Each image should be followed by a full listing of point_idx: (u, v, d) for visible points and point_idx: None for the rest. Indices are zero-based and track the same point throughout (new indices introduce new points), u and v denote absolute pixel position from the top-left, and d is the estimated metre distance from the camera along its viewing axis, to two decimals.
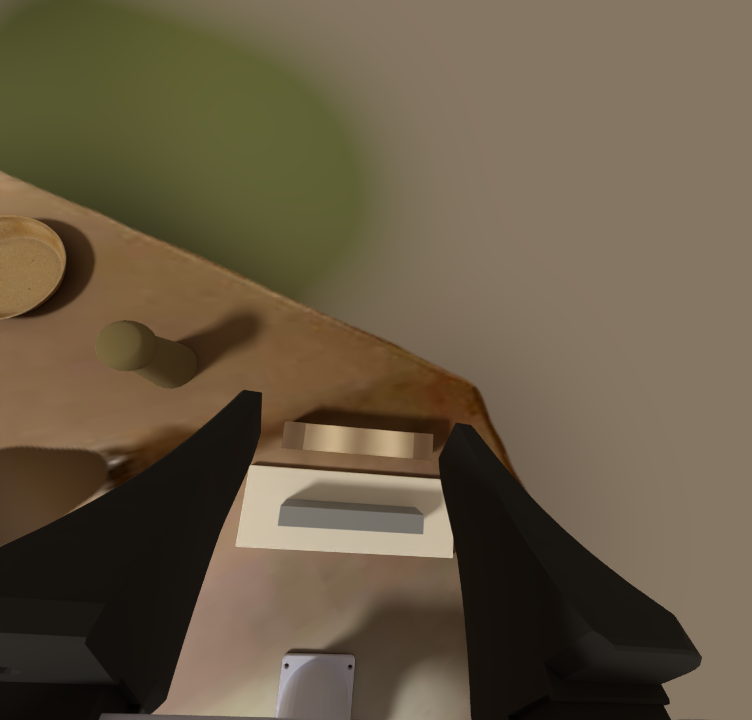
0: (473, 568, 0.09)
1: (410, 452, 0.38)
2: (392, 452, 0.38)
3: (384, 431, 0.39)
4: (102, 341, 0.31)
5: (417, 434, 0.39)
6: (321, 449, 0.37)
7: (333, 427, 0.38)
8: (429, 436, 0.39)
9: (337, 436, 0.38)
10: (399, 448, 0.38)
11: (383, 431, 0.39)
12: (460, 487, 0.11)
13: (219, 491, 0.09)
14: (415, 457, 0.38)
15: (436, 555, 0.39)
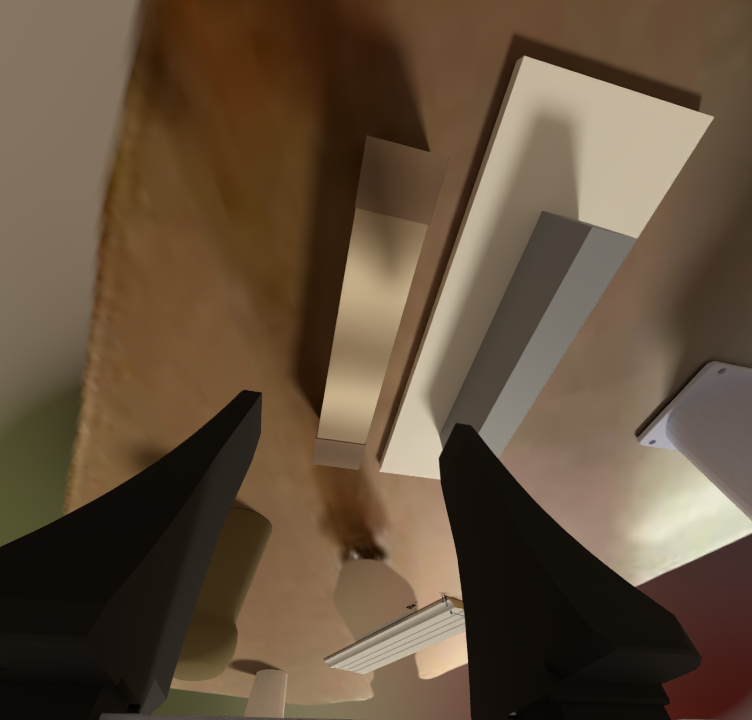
0: (473, 568, 0.09)
1: (410, 229, 0.13)
2: (399, 282, 0.14)
3: (344, 294, 0.15)
4: (194, 680, 0.23)
5: (361, 197, 0.12)
6: (369, 418, 0.19)
7: (327, 397, 0.18)
8: (372, 152, 0.12)
9: (348, 393, 0.18)
10: (392, 261, 0.14)
11: (344, 297, 0.15)
12: (460, 487, 0.11)
13: (219, 491, 0.09)
14: (427, 216, 0.13)
15: (676, 170, 0.15)
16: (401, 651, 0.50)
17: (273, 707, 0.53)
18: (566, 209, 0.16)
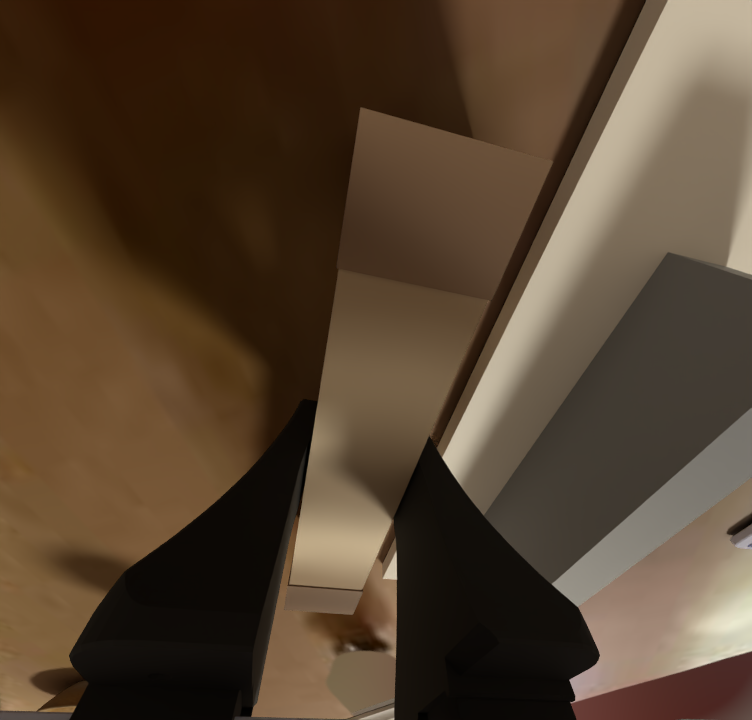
0: (405, 562, 0.09)
1: (451, 308, 0.06)
2: (424, 395, 0.08)
3: (321, 413, 0.08)
4: None
5: (350, 248, 0.06)
6: (368, 564, 0.12)
7: (301, 543, 0.11)
8: (374, 150, 0.05)
9: (333, 537, 0.11)
10: (413, 363, 0.07)
11: (321, 417, 0.08)
12: None
13: (295, 500, 0.09)
14: (489, 284, 0.06)
15: None
16: None
17: None
18: (710, 250, 0.09)
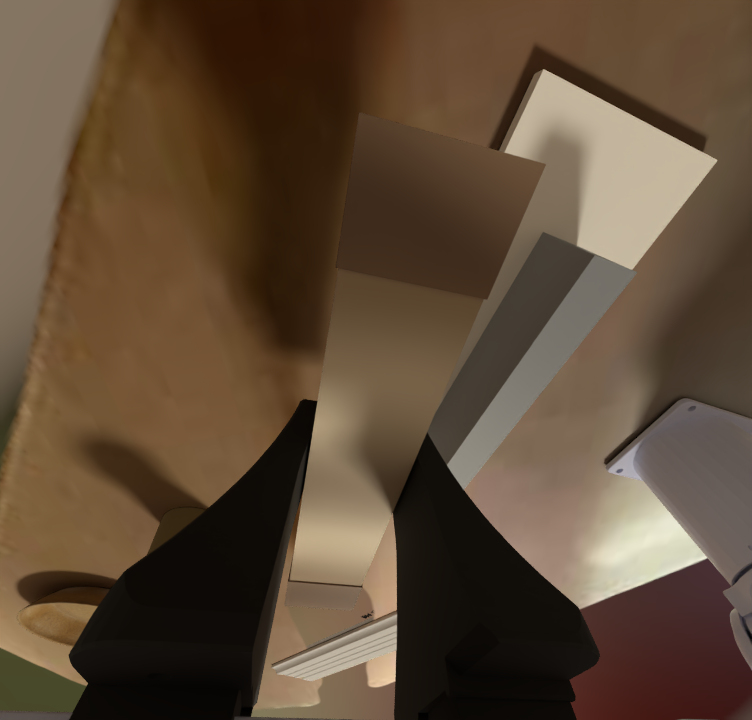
0: (406, 562, 0.09)
1: (448, 306, 0.07)
2: (422, 391, 0.08)
3: (321, 410, 0.08)
4: None
5: (349, 248, 0.06)
6: (367, 560, 0.12)
7: (301, 538, 0.11)
8: (372, 153, 0.05)
9: (333, 533, 0.11)
10: (410, 360, 0.07)
11: (321, 413, 0.08)
12: None
13: (295, 500, 0.09)
14: (485, 283, 0.06)
15: (676, 208, 0.15)
16: (351, 660, 0.49)
17: None
18: (566, 233, 0.15)
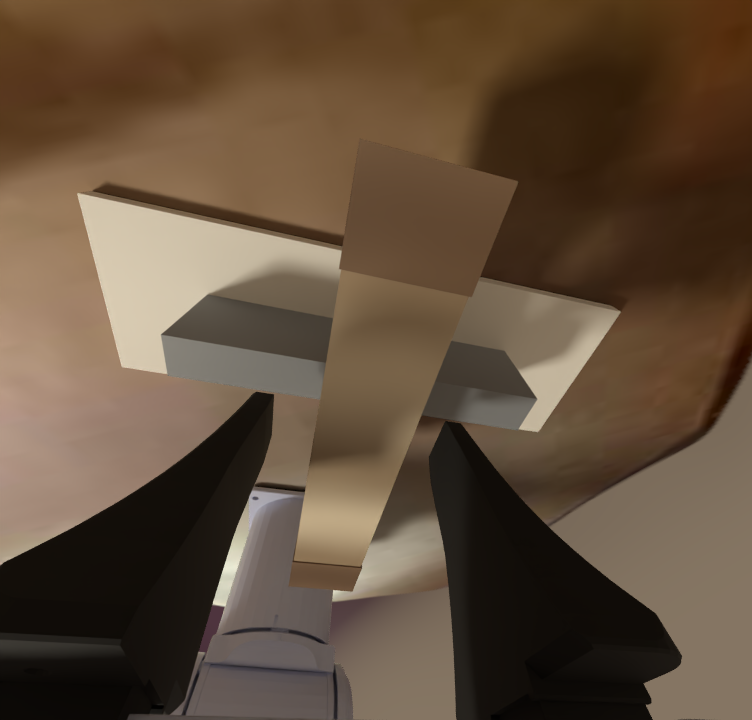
0: (460, 566, 0.09)
1: (437, 303, 0.07)
2: (415, 380, 0.09)
3: (325, 396, 0.09)
4: None
5: (351, 252, 0.07)
6: (367, 541, 0.13)
7: (305, 519, 0.12)
8: (371, 172, 0.06)
9: (335, 514, 0.12)
10: (405, 351, 0.08)
11: (325, 400, 0.09)
12: (449, 486, 0.11)
13: (235, 493, 0.09)
14: (469, 283, 0.07)
15: None
16: None
17: None
18: None
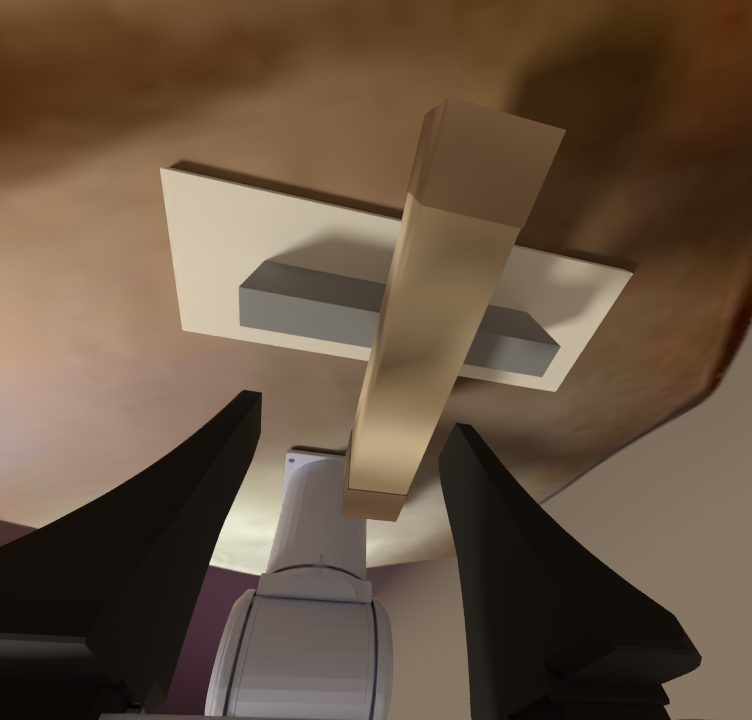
0: (473, 568, 0.09)
1: (495, 235, 0.09)
2: (471, 305, 0.11)
3: (396, 321, 0.11)
4: None
5: (432, 190, 0.09)
6: (414, 467, 0.15)
7: (364, 444, 0.14)
8: (455, 124, 0.08)
9: (390, 438, 0.14)
10: (465, 278, 0.10)
11: (395, 325, 0.11)
12: (460, 487, 0.11)
13: (219, 491, 0.09)
14: (522, 216, 0.09)
15: (530, 385, 0.23)
16: None
17: None
18: None
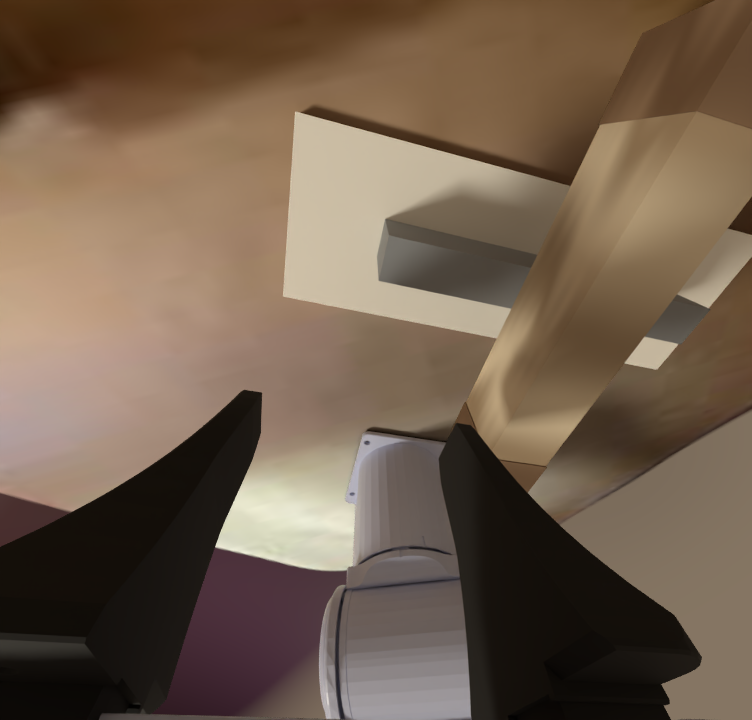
0: (473, 568, 0.09)
1: None
2: (702, 238, 0.10)
3: (613, 257, 0.10)
4: None
5: (716, 91, 0.08)
6: (566, 433, 0.14)
7: (523, 405, 0.13)
8: None
9: (553, 399, 0.13)
10: (708, 205, 0.09)
11: (610, 261, 0.10)
12: (460, 487, 0.11)
13: (219, 491, 0.09)
14: None
15: (633, 362, 0.22)
16: None
17: None
18: None
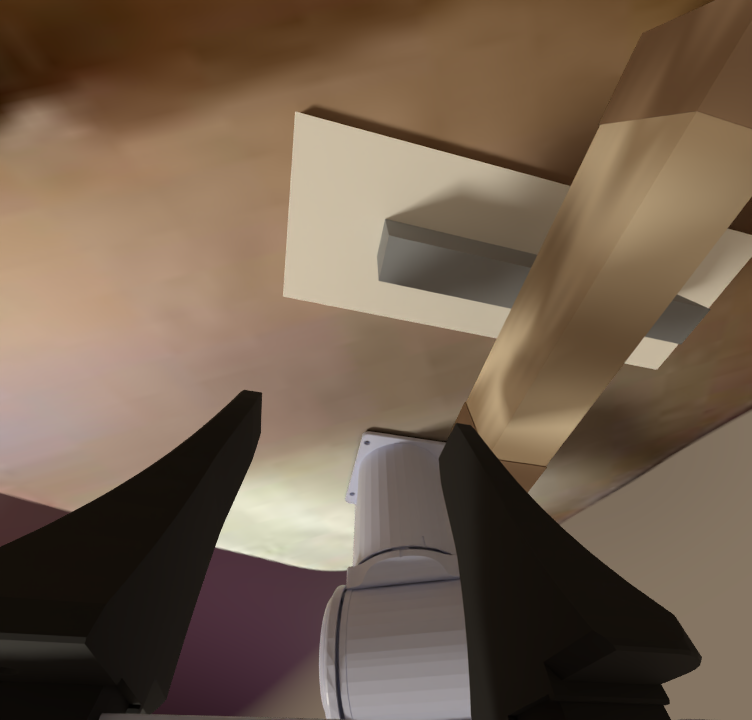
0: (473, 568, 0.09)
1: None
2: (702, 238, 0.10)
3: (613, 257, 0.10)
4: None
5: (716, 91, 0.08)
6: (566, 433, 0.14)
7: (523, 405, 0.13)
8: None
9: (553, 399, 0.13)
10: (708, 205, 0.09)
11: (610, 261, 0.10)
12: (460, 487, 0.11)
13: (219, 491, 0.09)
14: None
15: (633, 362, 0.22)
16: None
17: None
18: None
